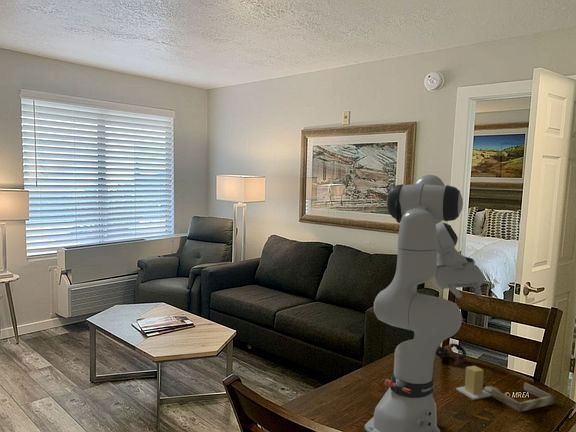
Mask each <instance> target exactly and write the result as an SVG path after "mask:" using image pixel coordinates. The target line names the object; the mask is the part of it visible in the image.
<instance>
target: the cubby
mask: <svg viewBox="0 0 576 432" xmlns="http://www.w3.org/2000/svg"><path fill="white" fill-rule="evenodd" d="M523 391H525V392H527V393H529V394H530V395H534V396H535V397H536V398H533V399H529V400H524V401H518V400H516V399H514V398H512V397H510V396H509V395H507V394H506V393H505V394H504V392H502V391H500V392H499V391H497V390H496V389H492V393H491V395H492V396H491V397H492V398H494V399H496V400H497V401H499V402H501V403H503V404H505V405H506V406H508V407H510V408H512V409H513V410H515V411H517V412H519V413H520V412H524V411H525V412H526V411H529V410H534V409H538V408H539V409H540V408H542V407H546V406H547V407H548V406H550V405H551V406H552V405H555V403H556V396H555V395H553V394H551V393H549V392H547V391H545V390H543V389H540V388H538V387H536V386H535V385H532V384H530V383H528V382H523Z"/></svg>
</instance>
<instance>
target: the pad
mask: <svg viewBox="0 0 576 432" xmlns="http://www.w3.org/2000/svg"><path fill="white" fill-rule="evenodd" d="M455 390H456V391H458V392H460V393H461V394H463V395H465V396H466V397H468V398H470V399H471V400H473V401H475V400H479V399H480V400H481V399H484V398H491V397H492V393H490V392H487V391H486V390H485V389H483V391H482V393H479V394H474V395H473V394H471V393H470V392H468V391H466V390H465V385H464V386H459V387H455Z"/></svg>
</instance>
